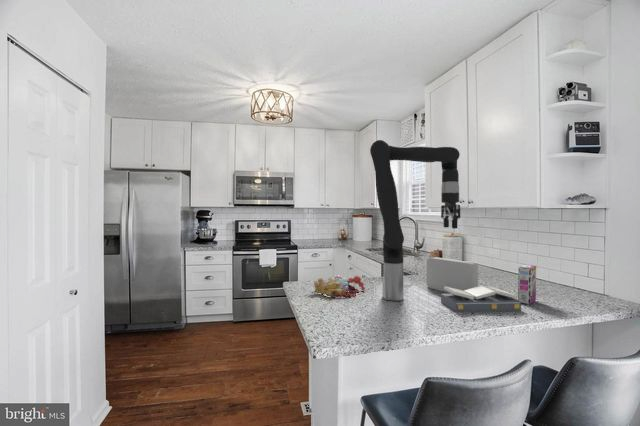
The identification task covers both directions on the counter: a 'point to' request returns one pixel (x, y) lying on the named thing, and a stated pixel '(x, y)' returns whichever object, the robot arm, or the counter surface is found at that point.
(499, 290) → the rocker
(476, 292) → the rocker
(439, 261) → the upright grey rectangular panel
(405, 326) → the counter surface
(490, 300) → the tray
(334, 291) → the colourful mixed pile
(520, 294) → the candy bar box
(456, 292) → the rocker
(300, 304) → the counter surface
